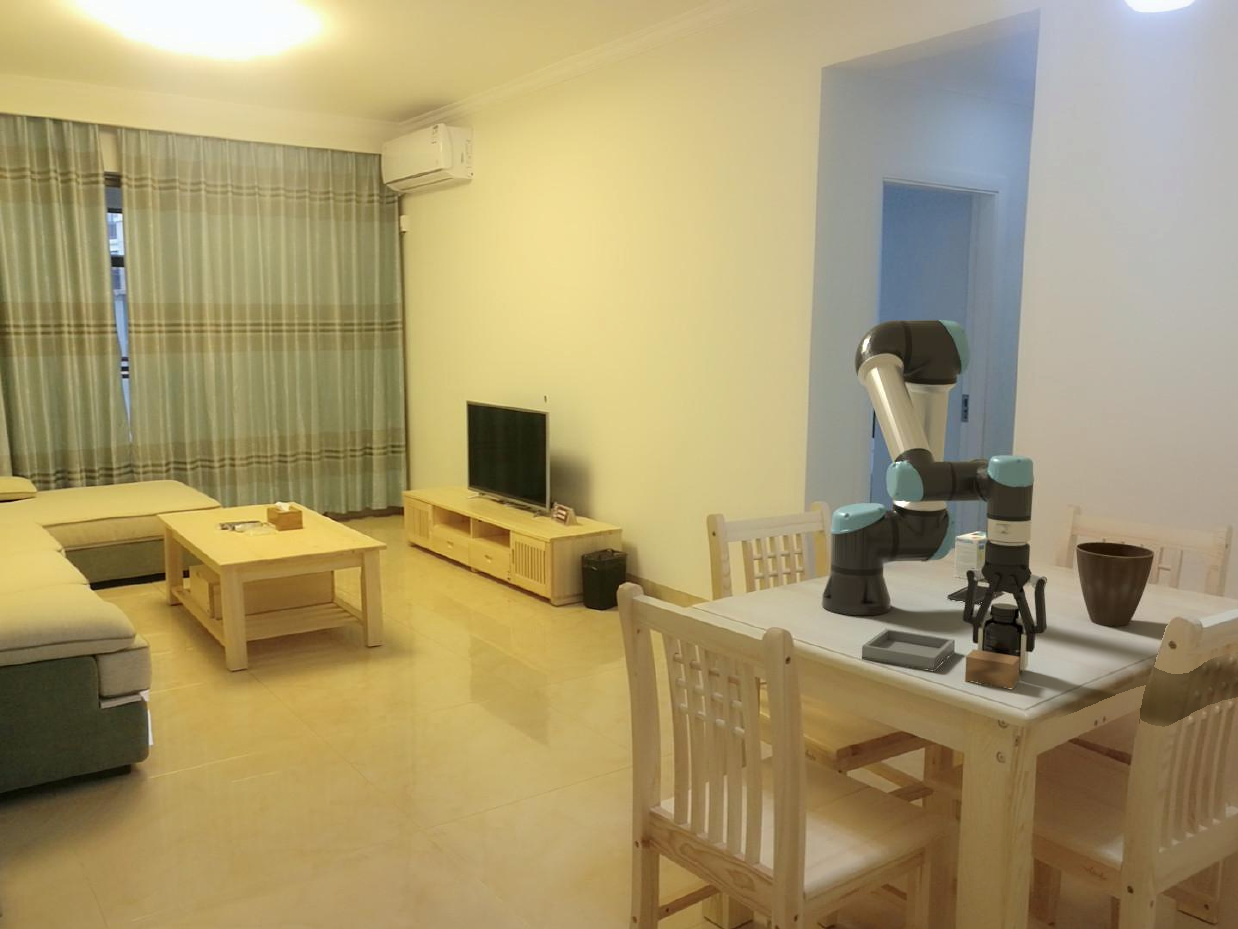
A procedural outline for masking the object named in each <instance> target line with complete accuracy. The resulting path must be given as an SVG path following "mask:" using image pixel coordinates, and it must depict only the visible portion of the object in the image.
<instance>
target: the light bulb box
mask: <svg viewBox="0 0 1238 929" xmlns="http://www.w3.org/2000/svg"><path fill="white" fill-rule="evenodd" d="M988 540H989V539H987V538H986V531H973V532H971V533H965V534H962V535H957V536H956V535H955V540H954V541H955V543H954V544H955V545H954V547H955V549H954V575H953V577H954V578H959V577H960V578H959V579H963V578H964V580H968V579H967V575H966V573H967V571H969V570H970V569H971V568H974V569H982V567H983V566H984V564H985V543H986V542H987V541H988ZM984 578H985V577H984V576H983V575H981V579H980V580H979V581H981V580H984Z"/></svg>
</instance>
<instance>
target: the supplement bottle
mask: <svg viewBox="0 0 1238 929" xmlns="http://www.w3.org/2000/svg"><path fill="white" fill-rule="evenodd" d="M989 615H990V616H991V617H990V618H988V619H986V620H985V622H984V624H983V625H984V641H983V651H986V652H993V653H999V654H1005V655H1011V656H1017V657H1020V658H1021V636H1022V634H1023V633H1024V632H1025V628H1024V624H1023V622H1021V620H1019V618H1020V612H1019V609H1018V606H1017V605H1015V604H1011V603H1005V602H1004V603H1003V602H1001V603H1000V602H999V603H998V602H997V603H991V605H990V611H989ZM1021 672H1022V670H1020V668H1019V674H1020V673H1021Z"/></svg>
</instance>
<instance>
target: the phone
mask: <svg viewBox="0 0 1238 929" xmlns="http://www.w3.org/2000/svg"><path fill="white" fill-rule="evenodd" d="M988 587H989V586H988ZM988 587H987V586H982V585H978V587H977V593H976V600H975V604H979V603H981V602H982V601H983V599H984V596H985V594H986V591H987V589H988ZM967 588H968V585H967V586H965V587H963V588H961V589H959V590H957V591H954V592H953V593H950V594H948V595H947V597H946V598H948V599H950V600H949V601H952V600H955V601H954V602H957V601H963V602H965V601H966V595H967ZM1002 593H1003V592H996V594H995V595H998V596H999V594H1000V595H1002ZM948 599H947V600H948ZM963 602H962V603H963ZM979 605H980V604H979Z"/></svg>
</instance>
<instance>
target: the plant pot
mask: <svg viewBox="0 0 1238 929" xmlns="http://www.w3.org/2000/svg"><path fill="white" fill-rule="evenodd" d="M1075 551H1076V561H1077V562H1076V563H1077V571H1078V577H1079V582H1080V586H1081V587H1080V588H1081V593H1082V596H1083V600H1084V604H1085V607H1086V610H1087V614H1088V617H1089V620H1090V621H1091V622H1093V623H1095V624H1097V625H1102V626H1107V627H1117V628H1118V627H1121V628H1122V627H1126V626H1128V625H1129V624H1130V623H1131V620H1132V619H1133V617H1134V615H1135V613H1136V611H1137V609H1138V607H1139V604H1140V602H1141V600H1142V597H1143V594H1144V592H1145V589H1146V585H1147V583H1148V580H1149V577H1150V574H1151V570H1152V565H1153V563H1154V562H1153V561H1154V558H1155V552H1154V551H1153V550H1151V549H1149V548H1147V547H1142V546H1139V545H1138V546H1137V545H1134V544H1129V543H1127V544H1125V543H1120V542H1108V541H1107V542H1105V541H1104V542H1102V541H1094V542H1093V541H1092V542H1083V543H1079V544H1076V545H1075Z"/></svg>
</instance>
